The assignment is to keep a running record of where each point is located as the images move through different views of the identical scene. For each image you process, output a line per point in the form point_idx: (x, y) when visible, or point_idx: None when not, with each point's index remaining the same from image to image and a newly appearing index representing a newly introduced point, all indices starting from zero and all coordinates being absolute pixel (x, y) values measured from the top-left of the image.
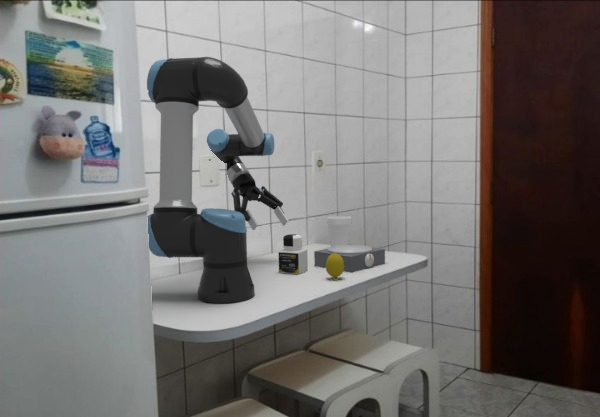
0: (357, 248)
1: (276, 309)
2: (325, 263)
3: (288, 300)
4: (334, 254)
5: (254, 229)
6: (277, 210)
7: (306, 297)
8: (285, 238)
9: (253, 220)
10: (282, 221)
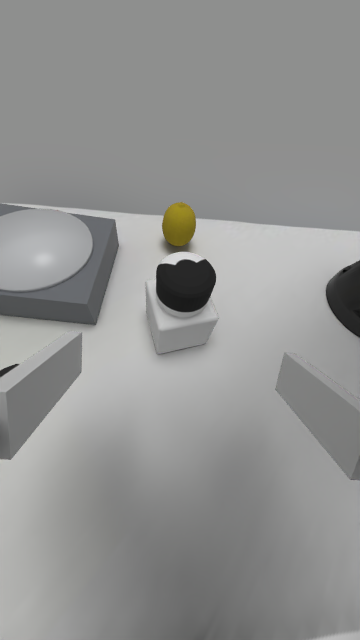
0: (28, 231)
1: (333, 232)
2: (102, 289)
3: (304, 239)
4: (185, 204)
5: (278, 386)
6: (25, 400)
7: (279, 231)
8: (215, 279)
9: (313, 369)
10: (74, 368)
